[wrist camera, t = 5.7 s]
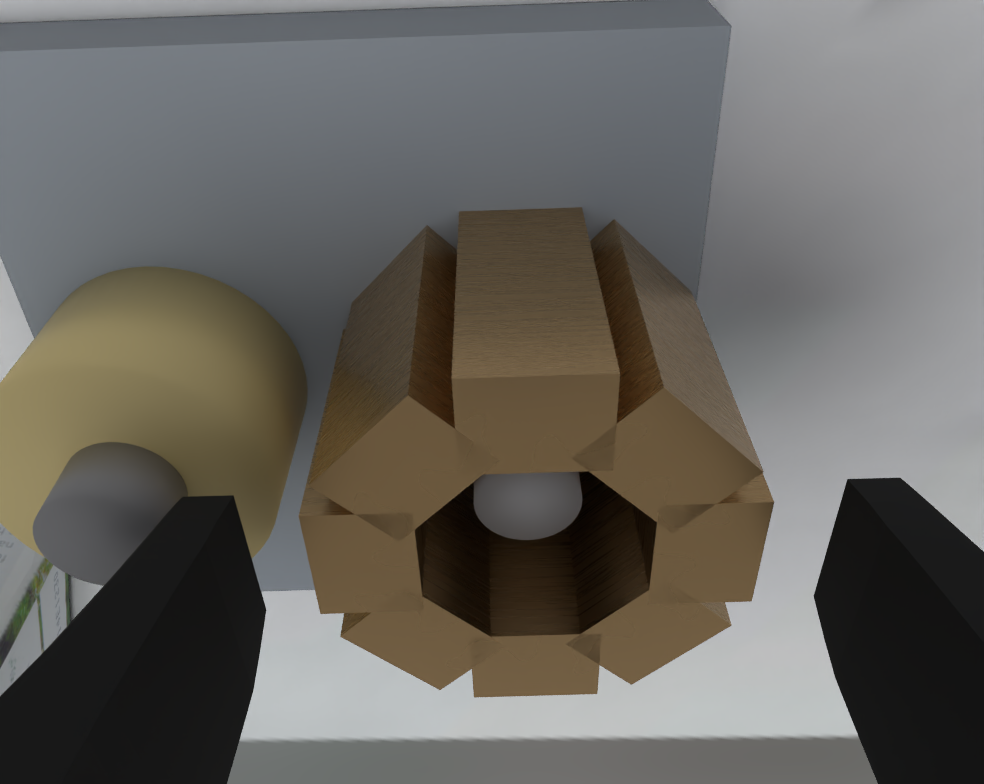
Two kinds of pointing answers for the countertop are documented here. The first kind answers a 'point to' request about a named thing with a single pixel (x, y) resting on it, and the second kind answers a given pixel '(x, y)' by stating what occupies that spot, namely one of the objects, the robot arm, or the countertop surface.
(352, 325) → the brown segmented ring
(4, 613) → the syrup box
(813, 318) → the countertop surface
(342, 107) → the carrier plate
